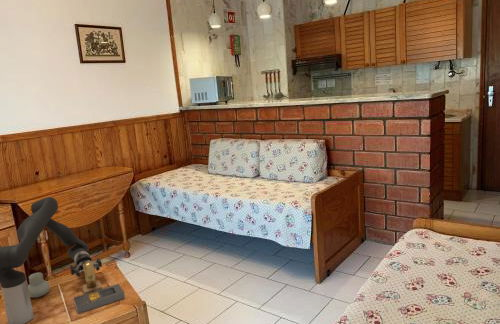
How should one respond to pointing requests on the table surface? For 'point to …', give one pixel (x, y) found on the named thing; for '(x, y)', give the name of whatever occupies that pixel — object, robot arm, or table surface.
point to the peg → (89, 274)
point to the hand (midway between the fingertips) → (88, 271)
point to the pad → (86, 290)
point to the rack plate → (98, 298)
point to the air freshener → (37, 285)
